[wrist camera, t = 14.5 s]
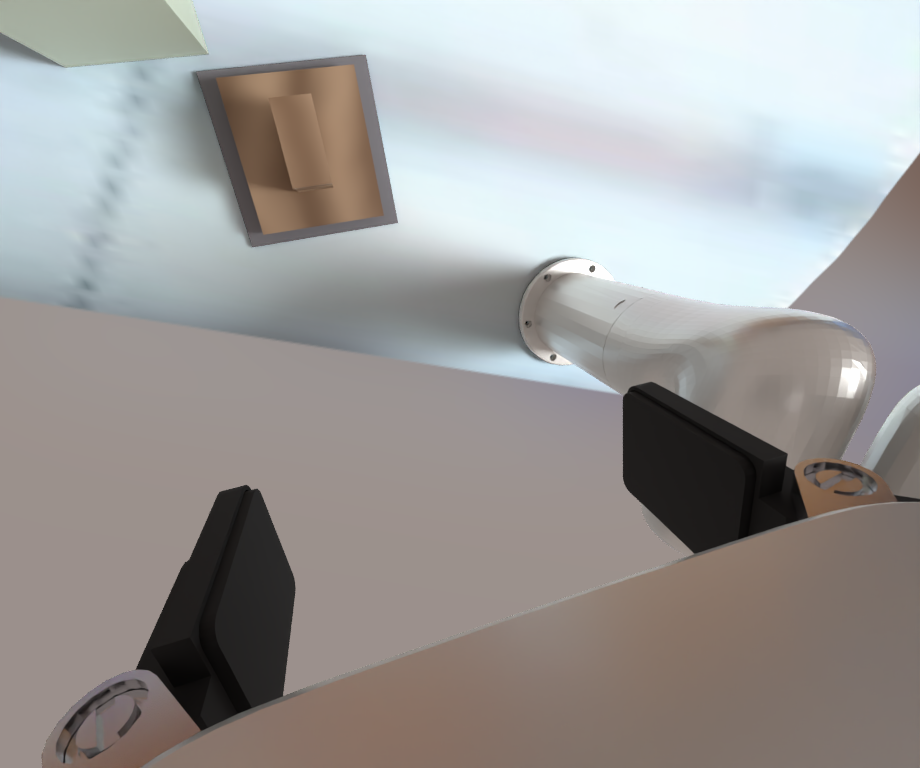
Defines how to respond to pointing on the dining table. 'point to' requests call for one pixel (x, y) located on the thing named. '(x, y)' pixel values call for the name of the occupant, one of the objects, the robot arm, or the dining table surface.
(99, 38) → the box
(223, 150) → the mat
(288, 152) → the lid
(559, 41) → the dining table surface
